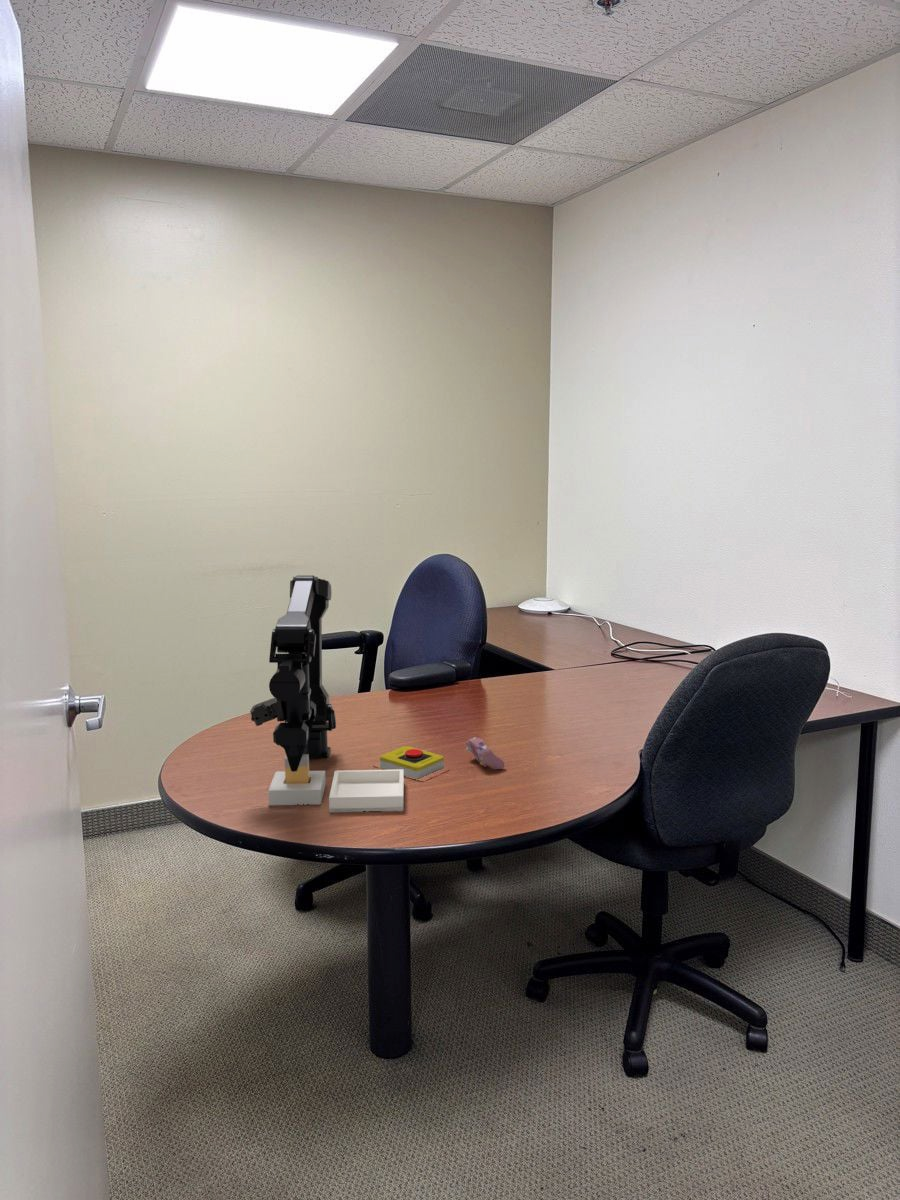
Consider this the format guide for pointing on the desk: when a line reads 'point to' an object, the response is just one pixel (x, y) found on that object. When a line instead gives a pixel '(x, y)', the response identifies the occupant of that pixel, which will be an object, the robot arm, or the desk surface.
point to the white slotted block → (297, 790)
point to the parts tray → (367, 790)
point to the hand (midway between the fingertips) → (297, 762)
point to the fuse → (298, 771)
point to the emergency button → (412, 761)
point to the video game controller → (484, 753)
